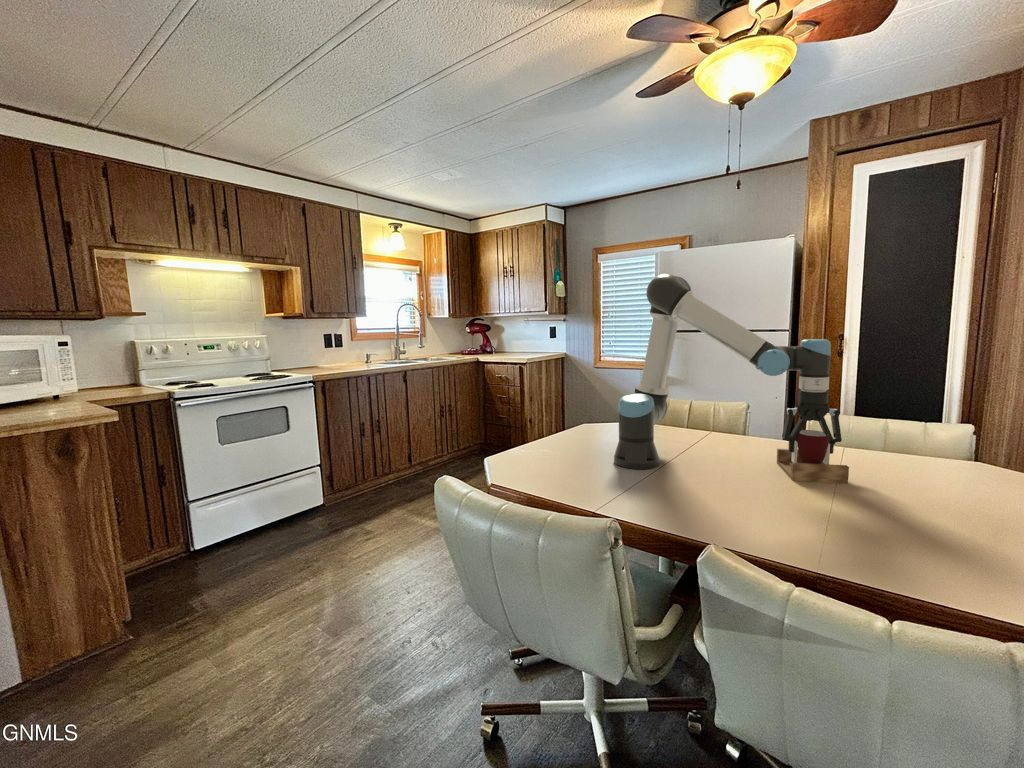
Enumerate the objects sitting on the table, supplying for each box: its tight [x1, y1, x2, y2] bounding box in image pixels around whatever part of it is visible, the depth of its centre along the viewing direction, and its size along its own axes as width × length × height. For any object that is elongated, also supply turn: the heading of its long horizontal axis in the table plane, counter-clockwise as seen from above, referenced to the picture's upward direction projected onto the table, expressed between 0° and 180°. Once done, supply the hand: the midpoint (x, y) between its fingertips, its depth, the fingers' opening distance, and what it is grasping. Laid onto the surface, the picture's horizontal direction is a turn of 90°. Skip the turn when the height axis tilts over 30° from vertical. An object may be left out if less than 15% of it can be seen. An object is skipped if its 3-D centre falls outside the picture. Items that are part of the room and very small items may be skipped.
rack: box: [776, 448, 850, 484], centre depth 136 cm, size 14×17×5 cm
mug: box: [796, 429, 829, 464], centre depth 135 cm, size 11×8×10 cm
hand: (809, 462), depth 136 cm, fingers closed on mug, 8 cm apart
